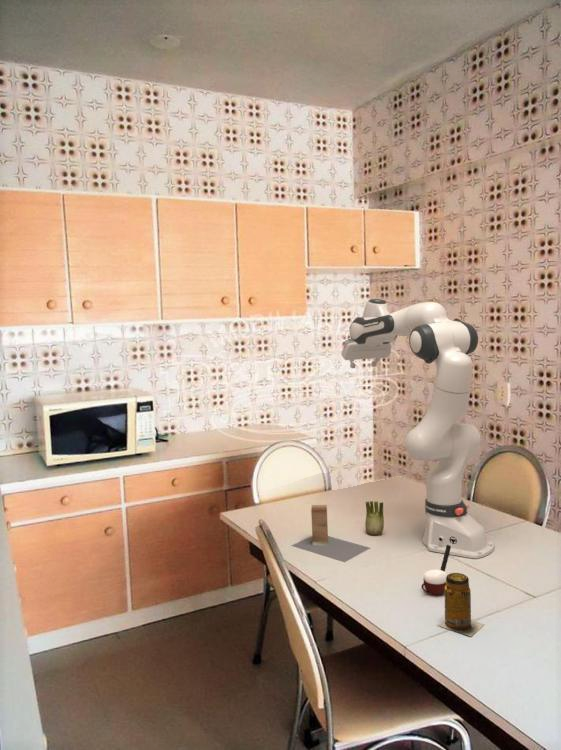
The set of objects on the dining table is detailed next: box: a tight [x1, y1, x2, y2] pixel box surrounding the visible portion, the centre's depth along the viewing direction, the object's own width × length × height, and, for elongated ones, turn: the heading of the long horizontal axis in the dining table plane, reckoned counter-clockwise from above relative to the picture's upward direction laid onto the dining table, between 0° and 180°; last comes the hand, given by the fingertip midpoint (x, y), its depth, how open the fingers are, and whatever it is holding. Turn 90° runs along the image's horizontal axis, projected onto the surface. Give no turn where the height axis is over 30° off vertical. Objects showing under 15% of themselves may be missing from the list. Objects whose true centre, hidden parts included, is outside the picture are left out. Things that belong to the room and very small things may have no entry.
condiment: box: [437, 572, 485, 637], centre depth 145 cm, size 7×8×12 cm
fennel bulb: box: [364, 500, 385, 537], centre depth 206 cm, size 6×5×12 cm
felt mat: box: [291, 535, 371, 563], centre depth 197 cm, size 22×14×1 cm, turn 47°
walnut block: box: [310, 504, 329, 545], centre depth 200 cm, size 5×5×12 cm
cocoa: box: [421, 545, 451, 596], centre depth 162 cm, size 10×6×12 cm, turn 93°
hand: (363, 366), depth 244 cm, fingers open, 8 cm apart
